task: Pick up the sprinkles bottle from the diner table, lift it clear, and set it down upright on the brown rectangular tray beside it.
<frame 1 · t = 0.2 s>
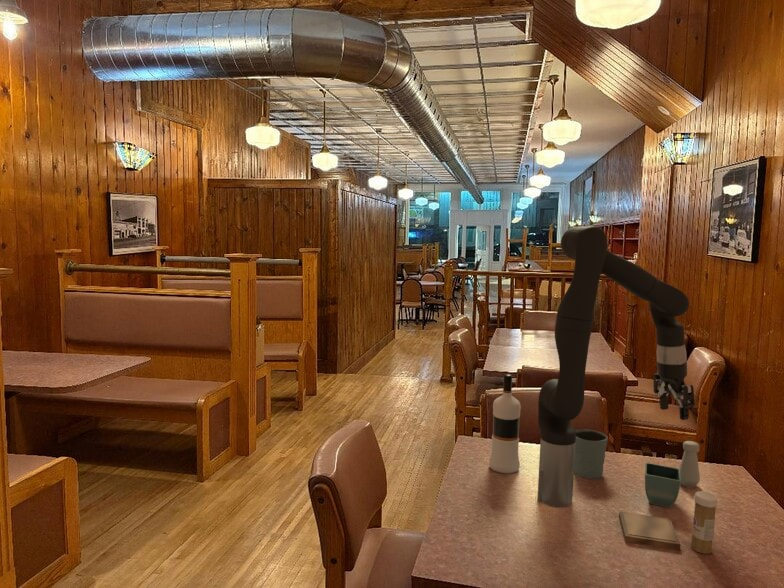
hand: (674, 414, 158), 22 cm above the table, tool pointing down, fingers open, 8 cm apart
brown rectangular tray: (647, 532, 137), on the table
vodka: (504, 468, 173), on the table
sprinkles bottle: (701, 550, 130), on the table
salt shaker: (688, 485, 163), on the table
green round cup: (587, 472, 171), on the table
flower pot: (660, 502, 153), on the table
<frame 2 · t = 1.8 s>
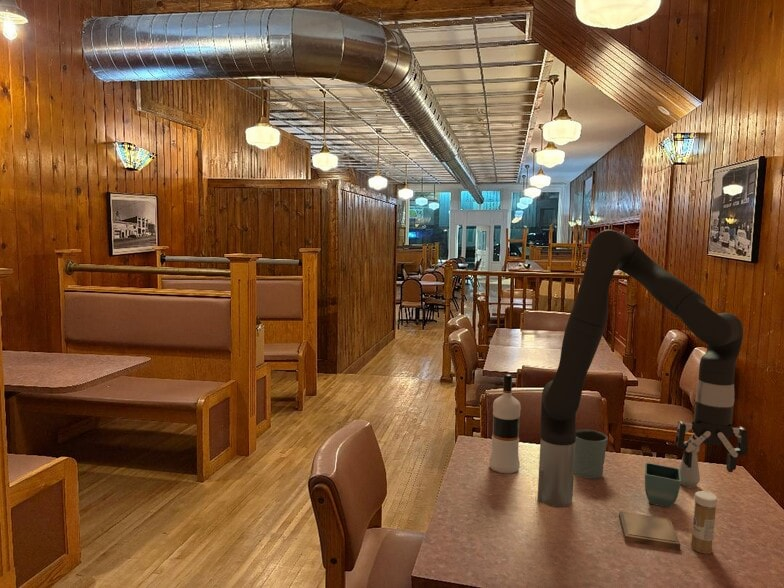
hand: (708, 468, 128), 20 cm above the table, tool pointing down, fingers open, 8 cm apart
nothing on the table moved.
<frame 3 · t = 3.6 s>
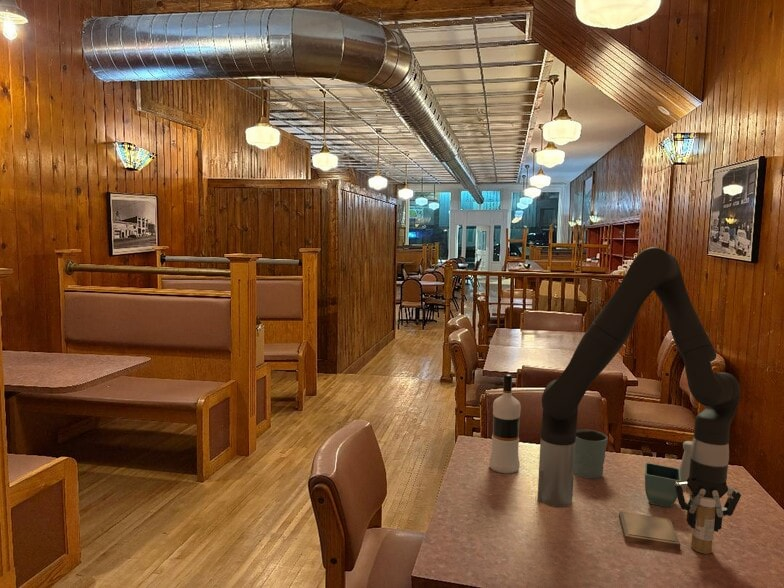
hand: (703, 527, 130), 5 cm above the table, tool pointing down, fingers closed on sprinkles bottle, 4 cm apart
sprinkles bottle: (701, 550, 130), on the table, touching gripper
everything else where it was.
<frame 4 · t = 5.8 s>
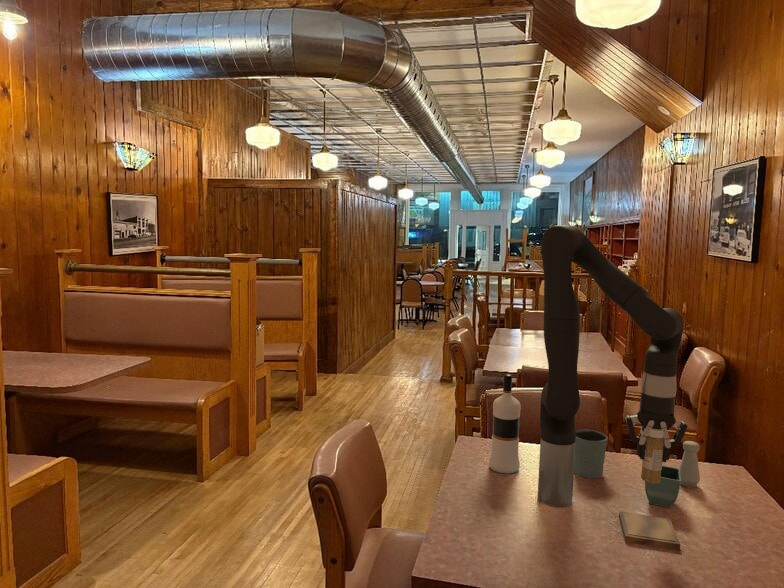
hand: (652, 459, 135), 19 cm above the table, tool pointing down, fingers closed on sprinkles bottle, 4 cm apart
sprinkles bottle: (650, 480, 136), point 13 cm above the table, touching gripper
everything else where it was.
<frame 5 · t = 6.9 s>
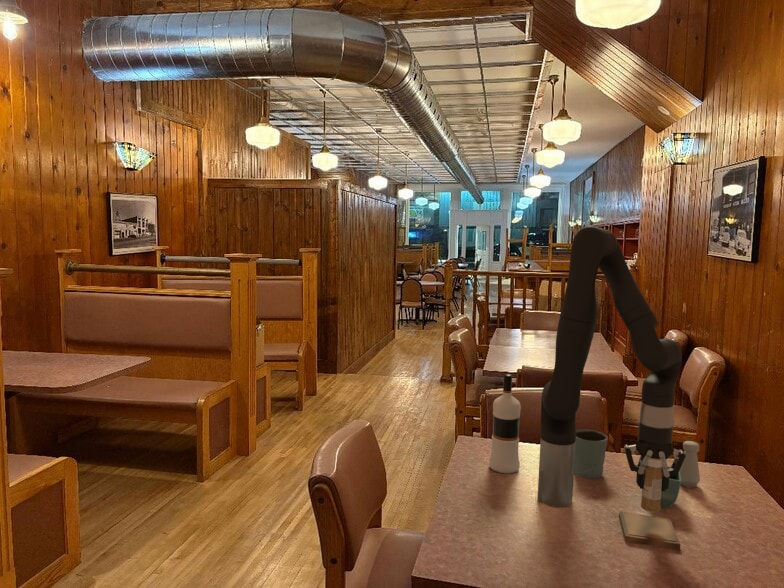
hand: (651, 488, 136), 11 cm above the table, tool pointing down, fingers closed on sprinkles bottle, 4 cm apart
sprinkles bottle: (650, 509, 137), point 6 cm above the table, touching gripper
everything else where it was.
when the fingers open (8 cm above the table, at t = 7.9 s): sprinkles bottle stays where it is, resting on brown rectangular tray.
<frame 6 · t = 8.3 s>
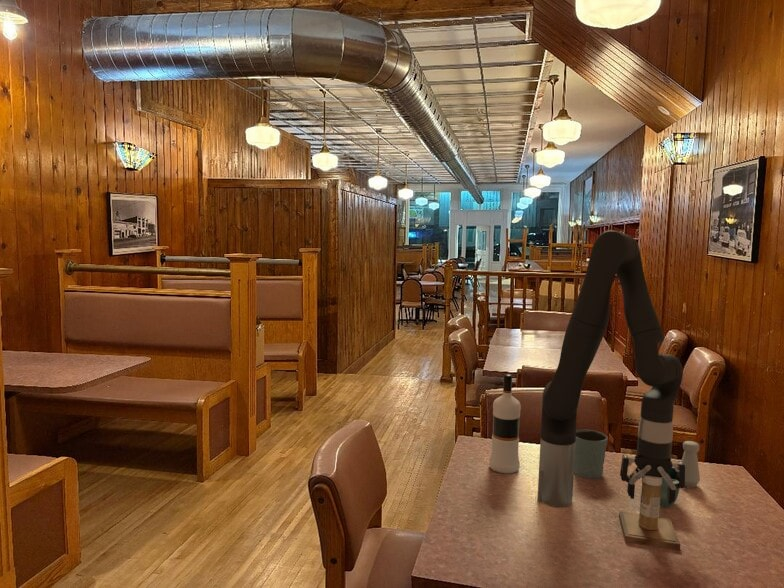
hand: (650, 499, 136), 9 cm above the table, tool pointing down, fingers open, 8 cm apart
sprinkles bottle: (648, 527, 137), point 1 cm above the table, touching brown rectangular tray
everything else where it was.
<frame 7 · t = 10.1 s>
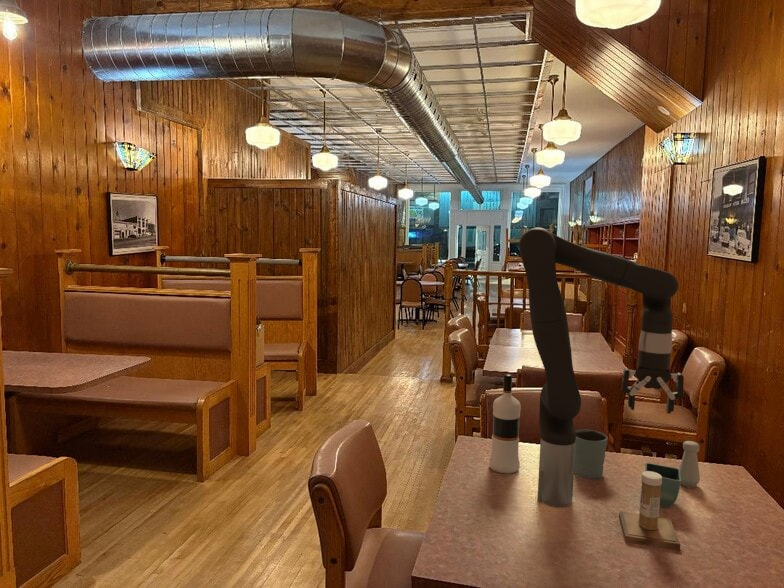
hand: (649, 410, 142), 28 cm above the table, tool pointing down, fingers open, 8 cm apart
nothing on the table moved.
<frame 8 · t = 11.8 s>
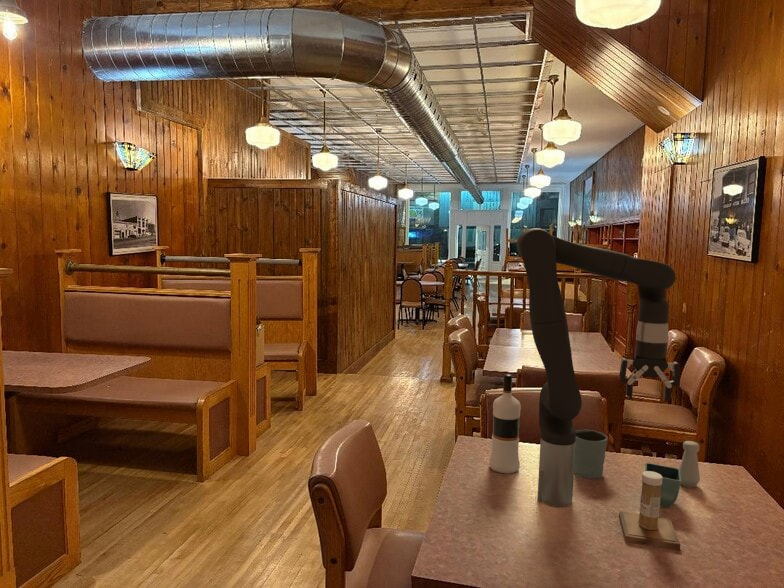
hand: (647, 399, 146), 30 cm above the table, tool pointing down, fingers open, 8 cm apart
nothing on the table moved.
at the end: sprinkles bottle inside the target area on the brown rectangular tray (0.1 cm from its centre), point 1.5 cm above the brown rectangular tray's base; sprinkles bottle tilted 0°; the gripper is holding nothing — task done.
